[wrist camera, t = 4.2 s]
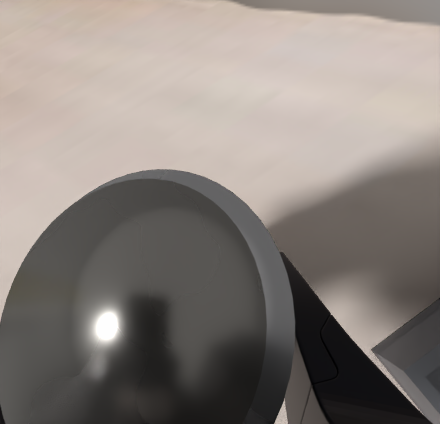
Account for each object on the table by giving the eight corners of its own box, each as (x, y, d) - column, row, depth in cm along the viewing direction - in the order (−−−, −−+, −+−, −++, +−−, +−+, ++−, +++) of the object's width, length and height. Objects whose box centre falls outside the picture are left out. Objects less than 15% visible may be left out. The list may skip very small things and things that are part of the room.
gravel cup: (281, 293, 14) (403, 387, 2) (223, 336, 14) (7, 687, 2) (239, 236, 16) (177, 111, 4) (187, 273, 16) (-43, 263, 4)
